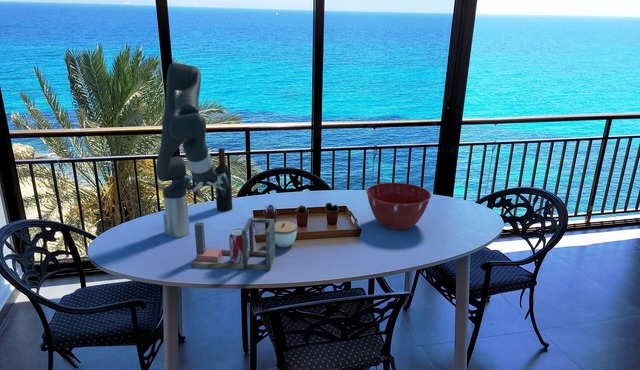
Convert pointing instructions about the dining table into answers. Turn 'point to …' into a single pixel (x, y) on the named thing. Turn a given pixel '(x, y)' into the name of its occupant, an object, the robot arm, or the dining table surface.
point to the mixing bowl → (398, 204)
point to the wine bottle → (222, 201)
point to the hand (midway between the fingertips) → (211, 195)
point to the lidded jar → (285, 233)
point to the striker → (202, 252)
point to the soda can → (237, 246)
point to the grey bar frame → (268, 253)
